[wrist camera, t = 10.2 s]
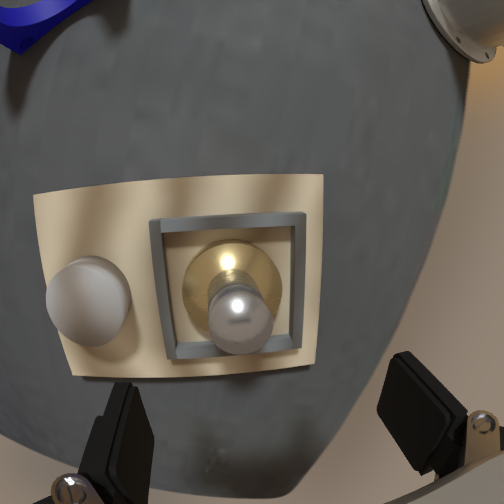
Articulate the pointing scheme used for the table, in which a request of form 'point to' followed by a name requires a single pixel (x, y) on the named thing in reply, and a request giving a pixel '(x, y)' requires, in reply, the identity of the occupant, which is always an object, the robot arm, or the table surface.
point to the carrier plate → (175, 270)
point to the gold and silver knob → (233, 294)
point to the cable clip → (33, 21)
